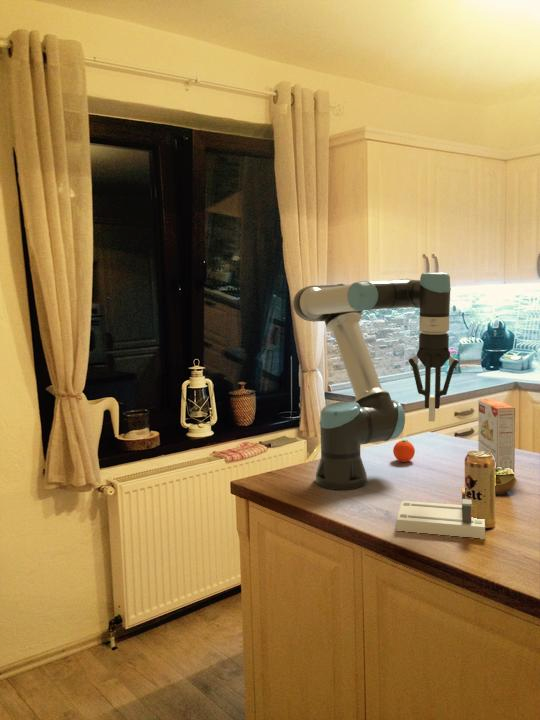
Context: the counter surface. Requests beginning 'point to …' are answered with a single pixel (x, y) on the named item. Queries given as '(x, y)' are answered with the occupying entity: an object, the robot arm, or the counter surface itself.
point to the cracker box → (497, 431)
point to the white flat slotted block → (437, 520)
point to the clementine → (404, 450)
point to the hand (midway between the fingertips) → (431, 420)
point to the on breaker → (466, 510)
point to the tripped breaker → (463, 493)
